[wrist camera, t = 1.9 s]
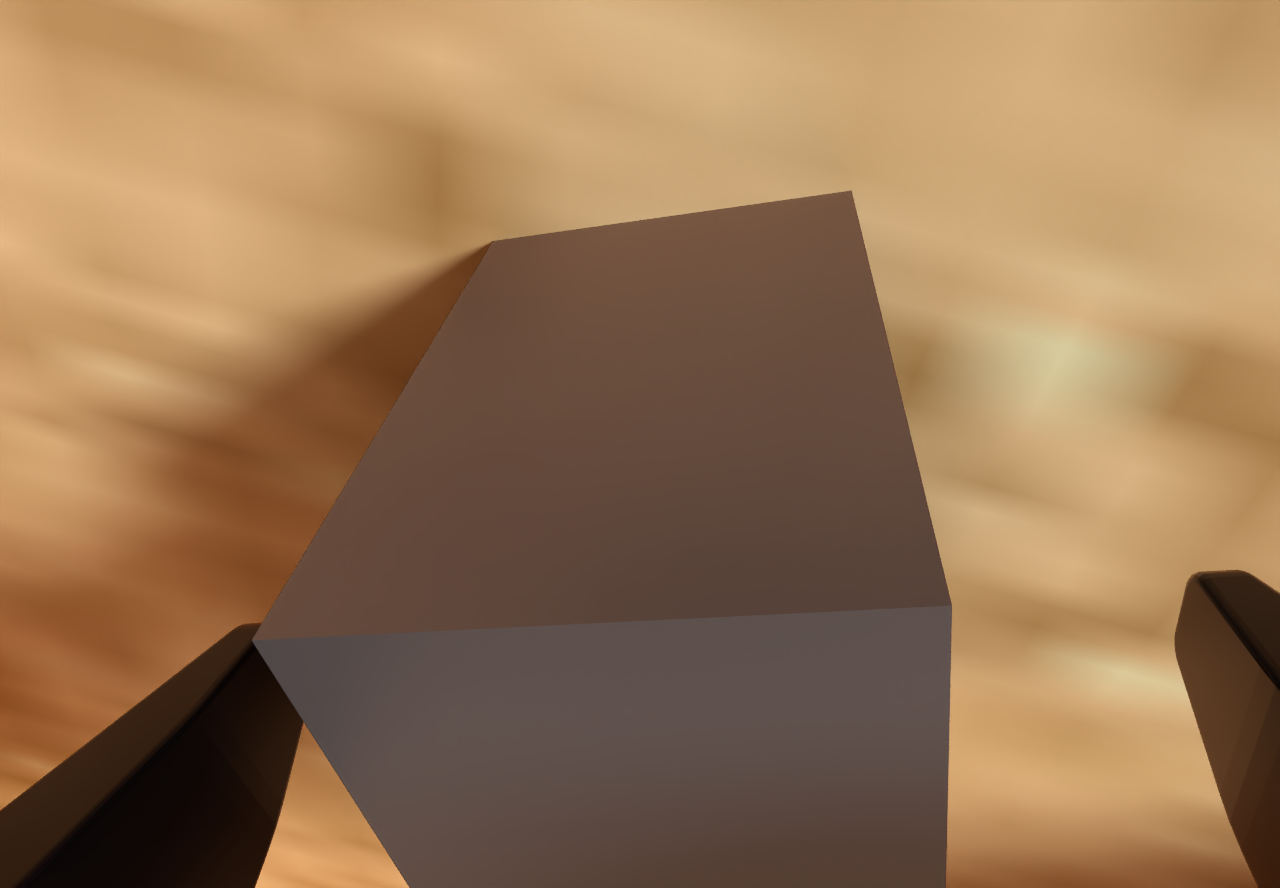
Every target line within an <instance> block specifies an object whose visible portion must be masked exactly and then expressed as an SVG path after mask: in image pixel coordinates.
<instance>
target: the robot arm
mask: <svg viewBox="0 0 1280 888" xmlns="http://www.w3.org/2000/svg"><path fill="white" fill-rule="evenodd" d="M261 624H262V623H251V624H244V625H240V626H238V627H236V628H235V629H233V630H232V631H231V632H230V633H228V634H227V635H226V636H224V637H223V638H222V639H220V640H219V641H218V642H217V643H215V644H214V645H213V646H211V647H210V648H209V649H208V650H206V651H205V652H204V653H202V654H201V655H200V656H199V657H197V658H196V659H195V660H193V661H192V662H191V663H190V664H188V665H187V666H186V667H184V668H183V669H182V670H181V671H179V672H178V673H177V674H175V675H174V676H173V677H172V678H170V679H169V680H168V681H166V682H165V683H164V684H163V685H161V686H160V687H159V688H157V689H156V690H155V691H154V692H152V693H151V694H150V695H148V696H147V697H146V698H145V699H143V700H142V701H141V702H139V703H138V704H137V705H136V706H134V707H133V708H132V709H130V710H129V711H128V712H127V713H125V714H124V715H123V716H121V717H120V718H119V719H118V720H116V721H115V722H114V723H112V724H111V725H110V726H108V727H107V728H106V729H105V730H103V731H102V732H101V733H99V734H98V735H97V736H96V737H94V738H93V739H92V740H90V741H89V742H88V743H87V744H85V745H84V746H83V747H81V748H80V749H79V750H78V751H76V752H75V753H74V754H72V755H71V756H70V757H69V758H67V759H66V760H65V761H63V762H62V763H61V764H60V765H58V766H57V767H56V768H54V769H53V770H52V771H51V772H49V773H48V774H47V775H45V776H44V777H43V778H42V779H40V780H39V781H38V782H36V783H35V784H34V785H33V786H31V787H30V788H29V789H27V790H26V791H25V792H24V793H22V794H21V795H20V796H18V797H17V798H16V799H15V800H13V801H12V802H11V803H9V804H8V805H7V806H5V807H4V808H3V809H2V810H0V888H255V886H256V883H257V880H258V878H259V875H260V872H261V869H262V867H263V864H264V861H265V858H266V856H267V853H268V850H269V847H270V844H271V841H272V838H273V835H274V832H275V829H276V826H277V823H278V819H279V816H280V812H281V809H282V805H283V801H284V798H285V794H286V790H287V786H288V782H289V778H290V774H291V770H292V766H293V762H294V758H295V754H296V750H297V746H298V742H299V738H300V734H301V730H302V726H303V723H304V721H303V720H302V718H301V717H300V715H299V714H298V712H297V710H296V709H295V707H294V706H293V704H292V703H291V701H290V700H289V698H288V696H287V695H286V693H285V692H284V690H283V689H282V687H281V685H280V684H279V682H278V681H277V679H276V678H275V676H274V674H273V673H272V671H271V670H270V668H269V667H268V665H267V663H266V662H265V660H264V659H263V657H262V656H261V654H260V653H259V651H258V649H257V648H256V646H255V645H254V643H253V642H252V639H253V637H254V636H255V634H256V632H257V631H258V629H259V627H260V626H261ZM1175 652H1176V658H1177V661H1178V665H1179V668H1180V671H1181V674H1182V677H1183V681H1184V684H1185V687H1186V690H1187V693H1188V696H1189V699H1190V702H1191V706H1192V709H1193V712H1194V715H1195V718H1196V721H1197V724H1198V728H1199V731H1200V734H1201V737H1202V740H1203V743H1204V746H1205V749H1206V753H1207V756H1208V759H1209V762H1210V765H1211V768H1212V771H1213V774H1214V778H1215V781H1216V784H1217V787H1218V790H1219V793H1220V796H1221V799H1222V802H1223V805H1224V808H1225V811H1226V814H1227V817H1228V819H1229V822H1230V825H1231V827H1232V829H1233V832H1234V834H1235V837H1236V839H1237V841H1238V844H1239V846H1240V848H1241V851H1242V853H1243V855H1244V857H1245V860H1246V862H1247V864H1248V866H1249V868H1250V871H1251V873H1252V875H1253V877H1254V880H1255V882H1256V884H1257V886H1258V888H1280V593H1279V592H1277V591H1276V590H1274V589H1273V588H1271V587H1270V586H1268V585H1267V584H1265V583H1264V582H1262V581H1261V580H1259V579H1258V578H1257V577H1255V576H1253V575H1252V574H1250V573H1247V572H1245V571H1241V570H1226V571H1207V572H1198V573H1195V574H1193V575H1192V576H1191V577H1190V578H1189V579H1188V582H1187V584H1186V588H1185V592H1184V597H1183V601H1182V605H1181V610H1180V614H1179V618H1178V623H1177V627H1176V631H1175Z"/></svg>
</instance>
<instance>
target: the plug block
mask: <svg viewBox="0 0 1280 888" xmlns="http://www.w3.org/2000/svg"><path fill="white" fill-rule="evenodd" d="M951 625H952V604H951V600H950V596H949V592H948V587H947V583H946V579H945V575H944V571H943V567H942V563H941V559H940V554H939V550H938V546H937V542H936V538H935V534H934V530H933V525H932V521H931V517H930V513H929V509H928V505H927V501H926V497H925V492H924V488H923V484H922V480H921V476H920V472H919V468H918V464H917V459H916V455H915V451H914V447H913V443H912V439H911V435H910V430H909V426H908V422H907V418H906V414H905V410H904V406H903V402H902V397H901V393H900V389H899V385H898V381H897V377H896V373H895V368H894V364H893V360H892V356H891V352H890V348H889V344H888V340H887V335H886V331H885V327H884V323H883V319H882V315H881V311H880V307H879V302H878V298H877V294H876V290H875V286H874V282H873V278H872V273H871V269H870V265H869V261H868V257H867V253H866V249H865V245H864V240H863V236H862V232H861V228H860V224H859V220H858V216H857V211H856V207H855V203H854V199H853V195H852V191H847V192H839V193H832V194H825V195H818V196H811V197H804V198H797V199H790V200H783V201H775V202H768V203H761V204H754V205H747V206H740V207H733V208H726V209H718V210H711V211H704V212H697V213H690V214H683V215H676V216H669V217H662V218H654V219H647V220H640V221H633V222H626V223H619V224H612V225H605V226H598V227H590V228H583V229H576V230H569V231H562V232H555V233H548V234H541V235H534V236H526V237H519V238H512V239H505V240H498V241H493V242H492V244H491V245H490V247H489V249H488V250H487V252H486V254H485V255H484V257H483V259H482V260H481V262H480V263H479V265H478V267H477V268H476V270H475V272H474V273H473V275H472V277H471V278H470V280H469V282H468V283H467V285H466V287H465V288H464V290H463V292H462V293H461V295H460V297H459V298H458V300H457V302H456V303H455V305H454V307H453V308H452V310H451V311H450V313H449V315H448V316H447V318H446V320H445V321H444V323H443V325H442V326H441V328H440V330H439V331H438V333H437V335H436V336H435V338H434V340H433V341H432V343H431V345H430V346H429V348H428V350H427V351H426V353H425V354H424V356H423V358H422V359H421V361H420V363H419V364H418V366H417V368H416V369H415V371H414V373H413V374H412V376H411V378H410V379H409V381H408V383H407V384H406V386H405V388H404V389H403V391H402V393H401V394H400V396H399V397H398V399H397V401H396V402H395V404H394V406H393V407H392V409H391V411H390V412H389V414H388V416H387V417H386V419H385V421H384V422H383V424H382V426H381V427H380V429H379V431H378V432H377V434H376V436H375V437H374V439H373V440H372V442H371V444H370V445H369V447H368V449H367V450H366V452H365V454H364V455H363V457H362V459H361V460H360V462H359V464H358V465H357V467H356V469H355V470H354V472H353V474H352V475H351V477H350V479H349V480H348V482H347V483H346V485H345V487H344V488H343V490H342V492H341V493H340V495H339V497H338V498H337V500H336V502H335V503H334V505H333V507H332V508H331V510H330V512H329V513H328V515H327V517H326V518H325V520H324V522H323V523H322V525H321V527H320V528H319V530H318V531H317V533H316V535H315V536H314V538H313V540H312V541H311V543H310V545H309V546H308V548H307V550H306V551H305V553H304V555H303V556H302V558H301V560H300V561H299V563H298V565H297V566H296V568H295V570H294V571H293V573H292V574H291V576H290V578H289V579H288V581H287V583H286V584H285V586H284V588H283V589H282V591H281V593H280V594H279V596H278V598H277V599H276V601H275V603H274V604H273V606H272V608H271V609H270V611H269V613H268V614H267V616H266V617H265V619H264V621H263V622H262V624H261V626H260V627H259V629H258V631H257V632H256V634H255V636H254V637H253V639H252V642H253V643H254V645H255V646H256V648H257V649H258V651H259V653H260V654H261V656H262V657H263V659H264V660H265V662H266V663H267V665H268V667H269V668H270V670H271V671H272V673H273V674H274V676H275V678H276V679H277V681H278V682H279V684H280V685H281V687H282V689H283V690H284V692H285V693H286V695H287V696H288V698H289V700H290V701H291V703H292V704H293V706H294V707H295V709H296V710H297V712H298V714H299V715H300V717H301V718H302V720H303V721H304V723H305V725H306V726H307V728H308V729H309V731H310V732H311V734H312V736H313V737H314V739H315V740H316V742H317V743H318V745H319V746H320V748H321V750H322V751H323V753H324V754H325V756H326V757H327V759H328V761H329V762H330V764H331V765H332V767H333V768H334V770H335V772H336V773H337V775H338V776H339V778H340V779H341V781H342V783H343V784H344V786H345V787H346V789H347V790H348V792H349V793H350V795H351V797H352V798H353V800H354V801H355V803H356V804H357V806H358V808H359V809H360V811H361V812H362V814H363V815H364V817H365V819H366V820H367V822H368V823H369V825H370V826H371V828H372V830H373V831H374V833H375V834H376V836H377V837H378V839H379V840H380V842H381V844H382V845H383V847H384V848H385V850H386V851H387V853H388V855H389V856H390V858H391V859H392V861H393V862H394V864H395V866H396V867H397V869H398V870H399V872H400V873H401V875H402V876H403V878H404V880H405V881H406V883H407V884H408V886H409V887H410V888H946V851H947V806H948V760H949V715H950V670H951Z"/></svg>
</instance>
